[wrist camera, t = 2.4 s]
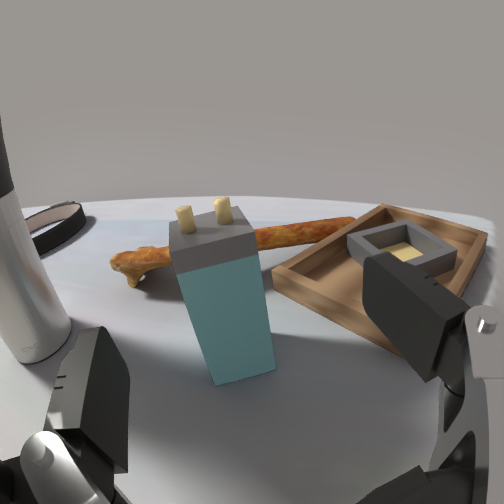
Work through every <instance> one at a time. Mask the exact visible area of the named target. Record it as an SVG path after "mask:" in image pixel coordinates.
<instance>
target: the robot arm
mask: <svg viewBox="0 0 504 504" xmlns="http://www.w3.org/2000/svg"><path fill="white" fill-rule="evenodd" d="M362 303H363V307H364V310H365V312H366V314H367V316H368V317H369V318H370V319H371V320H372V321H373V322H374V324H375V325H376V326H377V327H378V328H379V329H380V330H381V332H382V333H383V334H384V335H385V336H386V337H387V338H388V340H389V341H390V342H391V343H392V344H393V345H394V346H395V348H396V349H397V350H398V351H399V352H400V353H401V355H402V356H403V357H404V358H405V359H406V360H407V362H408V363H409V364H410V365H411V366H412V368H413V369H414V370H415V371H416V372H417V373H418V375H419V376H420V377H421V378H422V379H423V381H424V382H425V383H426V382H428V381H430V380H432V379H433V378H435V377H437V376H439V377H440V378H441V379H442V381H441V383H440V396H439V424H438V438H437V443H436V446H435V449H434V451H433V454H432V457H431V461H430V466H429V471H428V472H423V470H422V468H421V467H420V465H418V466H417V467H415V468H413V469H412V470H410V471H408V472H406V473H405V474H403V475H401V476H399V477H397V478H395V479H394V480H392V481H390V482H388V483H386V484H384V485H382V486H380V487H378V488H376V489H375V490H373V491H372V492H371V493H369V494H368V495H367V496H366V497H364V498H363V499H362V500H360V501H359V502H358V503H356V504H504V314H503V313H502V312H501V311H500V310H498V309H496V308H494V307H491V306H487V305H478V306H474V307H472V308H471V307H470V306H468V305H467V304H466V303H465V302H463V301H462V300H461V299H460V298H458V297H457V296H456V295H455V294H453V293H452V292H451V291H450V290H448V289H447V288H446V287H444V286H443V285H442V284H439V282H438V281H437V280H435V279H434V278H433V277H430V275H429V274H427V273H426V272H425V271H423V270H422V269H421V268H419V267H417V266H415V265H412V264H410V263H407V262H403V261H401V260H400V259H399V258H397V257H396V256H395V255H393V254H392V253H390V252H388V251H385V252H382V253H379V254H376V255H372V256H369V257H366V258H365V260H364V263H363V288H362ZM70 331H71V321H70V319H69V317H68V315H67V313H66V311H65V309H64V308H63V306H62V304H61V302H60V300H59V298H58V296H57V294H56V292H55V290H54V287H53V285H52V283H51V281H50V279H49V277H48V275H47V273H46V271H45V268H44V266H43V264H42V262H41V259H40V257H39V255H38V252H37V250H36V247H35V245H34V242H33V240H32V237H31V235H30V232H29V230H28V227H27V224H26V222H25V219H24V216H23V214H22V211H21V208H20V205H19V202H18V199H17V195H16V192H15V189H14V185H13V182H12V178H11V174H10V169H9V163H8V158H7V153H6V148H5V144H4V140H3V133H2V127H1V119H0V336H1V337H2V339H3V340H4V342H5V343H6V345H7V346H8V348H9V349H10V351H11V352H12V354H13V355H14V356H15V358H16V359H17V360H18V361H19V362H21V363H26V364H27V363H35V362H38V361H41V360H43V359H45V358H47V357H48V356H50V355H52V354H53V353H54V352H55V351H57V350H58V349H59V348H60V347H61V346H62V345H63V343H64V342H65V341H66V339H67V338H68V336H69V334H70ZM129 391H130V376H129V371H128V368H127V365H126V363H125V361H124V359H123V358H122V356H121V354H120V352H119V351H118V349H117V347H116V345H115V344H114V342H113V340H112V338H111V336H110V334H109V332H108V331H107V329H106V328H105V327H103V326H101V327H97V328H92V329H87V330H83V331H80V332H79V334H78V337H77V340H76V344H75V347H74V349H73V350H70V351H69V352H68V354H67V355H66V356H65V358H64V359H63V361H62V362H61V364H60V367H59V370H58V374H57V379H56V381H55V384H54V390H53V392H52V395H51V399H50V403H49V407H48V411H47V415H46V420H45V424H44V429H43V432H40V433H37V434H35V435H33V436H32V437H30V438H29V439H28V440H27V441H26V443H25V444H24V446H23V448H22V450H21V454H20V456H18V457H15V458H11V459H8V460H5V461H1V460H0V504H132V503H131V502H130V501H129V500H128V498H127V497H126V496H125V495H124V494H123V493H122V492H121V490H120V489H119V488H118V487H117V486H116V485H115V484H114V474H120V473H128V412H129Z"/></svg>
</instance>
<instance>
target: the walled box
mask: <svg viewBox="0 0 504 504" xmlns="http://www.w3.org/2000/svg"><path fill="white" fill-rule="evenodd" d="M405 219H409V220H410V221H412V222H414V223H415V224H417V225H419V226H421V227H422V228H424V229H426V230H427V231H429V232H431V233H432V234H434V235H436V236H437V237H439V238H441V239H442V240H444V241H445V242H447V243H449V244H450V245H452V246H453V247H455V248H456V249H458V251H457V257H456V262H455V267H454V269H453V270H450V271H448V272H446V273H444V274H441V275H439V276H437V277H434V279H435V280H437V281H438V282H439V284H442V285H443V286H444V287H446V288H447V289H448V290H450V291H451V292H452V293H453V294H455V295H456V296H457V297H458V298H460V299H461V297H462V295H463V293H464V291H465V289H466V288H467V286H468V284H469V282H470V280H471V278H472V276H473V274H474V272H475V270H476V268H477V266H478V264H479V262H480V259H481V257H482V255H483V253H484V251H485V247H486V241H487V236H488V233H486V232H483V231H480V230H477V229H474V228H470V227H467V226H464V225H460V224H457V223H454V222H450V221H447V220H443V219H440V218H436V217H433V216H429V215H425V214H422V213H418V212H414V211H410V210H407V209H403V208H399V207H395V206H391V205H387V204H381V205H379V206H378V207H376V208H374V209H373V210H371V211H369V212H368V213H366V214H364V215H363V216H361V217H360V218H358V219H356V220H355V221H353V222H351V223H350V224H348V225H346V226H345V227H343V228H341V229H340V230H338V231H336V232H335V233H333V234H331V235H330V236H328V237H326V238H325V239H323V240H321V241H320V242H318V243H316V244H315V245H313V246H311V247H310V248H308V249H306V250H304V251H303V252H301V253H299V254H298V255H296V256H294V257H293V258H291V259H289V260H287V261H286V262H284V263H282V264H281V265H279V266H277V267H275V268H274V269H272V270H271V271H272V279H273V286H274V290H276V291H277V292H279V293H281V294H283V295H285V296H287V297H288V298H290V299H292V300H294V301H296V302H298V303H300V304H301V305H303V306H305V307H307V308H309V309H311V310H313V311H315V312H316V313H318V314H320V315H322V316H324V317H326V318H328V319H330V320H331V321H333V322H335V323H337V324H339V325H341V326H343V327H345V328H347V329H349V330H350V331H352V332H354V333H356V334H358V335H360V336H362V337H364V338H366V339H368V340H370V341H372V342H374V343H375V344H377V345H379V346H381V347H383V348H385V349H387V350H389V351H391V352H393V353H395V354H397V355H399V356H401V357H403V356H402V355H401V353H400V352H399V351H398V350H397V349H396V348H395V346H394V345H393V344H392V343H391V342H390V341H389V340H388V338H387V337H386V336H385V335H384V334H383V333H382V332H381V330H380V329H379V328H378V327H377V326H376V325H375V324H374V322H373V321H372V320H371V319H370V318H369V317H368V316H367V314H366V312H365V310H364V307H363V303H362V288H363V267H362V266H361V265H360V264H359V263H357V262H356V261H355V260H354V259H353V258H352V257H351V256H350V255H349V254H347V234H351V233H355V232H359V231H363V230H367V229H370V228H374V227H378V226H382V225H386V224H389V223H393V222H397V221H401V220H405ZM403 358H404V357H403Z"/></svg>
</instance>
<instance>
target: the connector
mask: <svg viewBox="0 0 504 504" xmlns="http://www.w3.org/2000/svg"><path fill="white" fill-rule="evenodd" d="M213 202H214V207H215V211H213V212H209V213H205V214H201V215H196V216H193V212H192V208H191V206H183V207H180V208H178V209H176V214H177V218H178V220H176V221H172V222H169V254H170V257H171V261H172V264H173V267H174V270H175V274H176V277H177V280H178V283H179V286H180V289H181V292H182V295H183V299H184V302H185V305H186V308H187V310H188V313H189V316H190V319H191V322H192V325H193V328H194V331H195V333H196V336H197V339H198V342H199V345H200V347H201V350H202V353H203V355H204V358H205V361H206V363H207V366H208V369H209V371H210V374H211V376H212V379H213V382H214V384H215V386H218V385H222V384H226V383H230V382H234V381H238V380H241V379H245V378H249V377H252V376H256V375H260V374H263V373H266V372H270V371H273V370H276V364H275V358H274V351H273V344H272V338H271V331H270V325H269V319H268V312H267V306H266V299H265V293H264V286H263V280H262V274H261V267H260V261H259V255H258V248H257V242H256V236H255V231H254V229H253V228H252V226H251V225H250V223H249V222H248V221H247V219H246V218H245V216H244V215H243V213H242V212H241V210H240V209H239V207H238V206H235V207H231V206H230V200H229V197H220V198H217V199H215V200H214V201H213Z"/></svg>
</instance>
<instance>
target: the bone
mask: <svg viewBox="0 0 504 504" xmlns="http://www.w3.org/2000/svg"><path fill="white" fill-rule="evenodd" d="M355 220H356V219H355V218H353V217H340V218H332V219H324V220H317V221H310V222H303V223H295V224H289V225H283V226H275V227H267V228H261V229H255V230H254V231H255V236H256V242H257V248H258V251H262V250H270V249H275V248H283V247H290V246H296V245H303V244H312V243H318V242H320V241H321V240H323V239H325V238H326V237H328V236H330V235H331V234H333V233H335V232H336V231H338V230H340V229H341V228H343V227H345V226H346V225H348V224H350V223H351V222H353V221H355ZM110 265H111V267H112V269H113V270H115V271H118V272H121V273H123V274H125V275H126V276H127V280H128V284H129V286H130V287H132V288H134V287H136V285H137V283H138V282H139V280H140V278H141V277H142V276H143V275H144V274H145V273H146V272H147V271H149V270H152V269H155V268H159V267H164V266H171V265H173V264H172V261H171V257H170V254H169V246H167V247H162V248H155V247H153V246H151V247H140V248H138V249H137V250H136V251H125V252H122V253H118V254H116V255H114V256H113V257H112V258H111V259H110Z"/></svg>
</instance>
